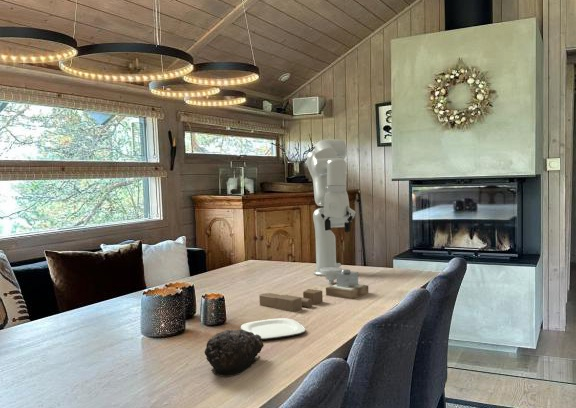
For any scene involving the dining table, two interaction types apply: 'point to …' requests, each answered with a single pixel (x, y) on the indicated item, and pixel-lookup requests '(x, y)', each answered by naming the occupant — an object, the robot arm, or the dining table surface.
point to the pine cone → (233, 351)
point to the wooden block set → (291, 300)
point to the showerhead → (330, 273)
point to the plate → (274, 328)
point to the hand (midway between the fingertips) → (337, 231)
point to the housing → (347, 278)
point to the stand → (347, 291)
